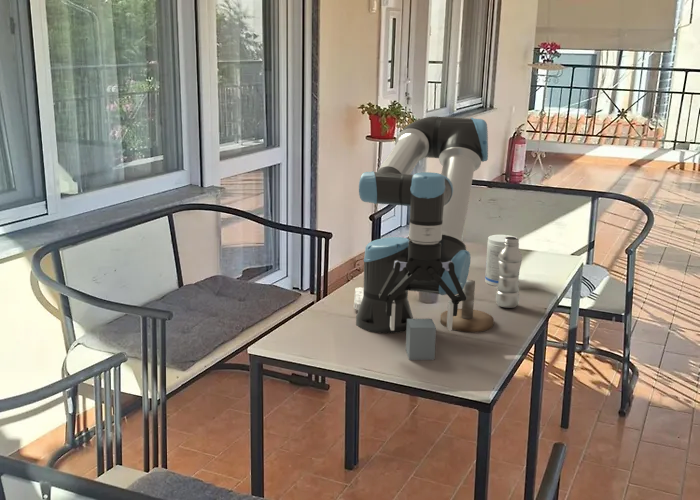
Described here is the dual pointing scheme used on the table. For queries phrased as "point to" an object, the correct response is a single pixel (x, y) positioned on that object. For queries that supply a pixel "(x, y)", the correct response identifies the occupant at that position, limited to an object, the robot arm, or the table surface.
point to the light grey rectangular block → (420, 339)
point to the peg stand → (469, 314)
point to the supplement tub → (494, 258)
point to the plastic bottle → (509, 274)
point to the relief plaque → (358, 297)
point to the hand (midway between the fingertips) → (420, 328)
